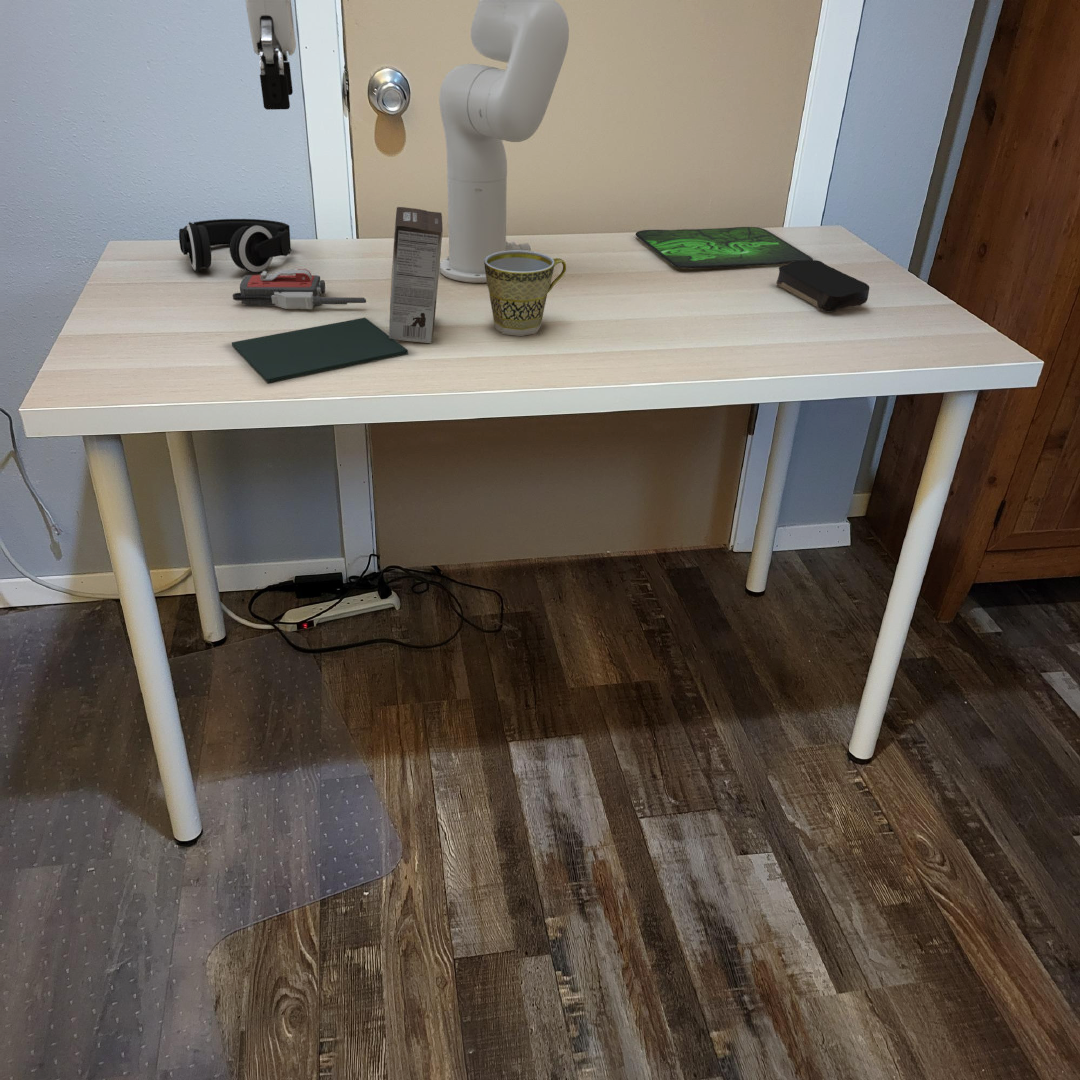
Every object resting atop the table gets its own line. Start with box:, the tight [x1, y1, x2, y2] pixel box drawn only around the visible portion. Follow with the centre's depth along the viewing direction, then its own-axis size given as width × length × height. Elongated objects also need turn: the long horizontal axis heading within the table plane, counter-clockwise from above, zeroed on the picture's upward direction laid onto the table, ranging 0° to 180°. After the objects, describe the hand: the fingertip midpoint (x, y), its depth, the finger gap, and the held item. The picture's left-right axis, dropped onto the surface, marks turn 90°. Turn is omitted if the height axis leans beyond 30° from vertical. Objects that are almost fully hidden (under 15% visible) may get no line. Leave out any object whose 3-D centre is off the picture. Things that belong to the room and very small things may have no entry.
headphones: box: [178, 218, 292, 274], centre depth 164 cm, size 18×8×20 cm
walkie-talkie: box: [232, 268, 367, 310], centre depth 149 cm, size 9×4×20 cm
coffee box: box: [388, 206, 444, 344], centre depth 137 cm, size 9×6×16 cm
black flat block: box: [776, 259, 871, 313], centre depth 159 cm, size 16×8×4 cm, turn 22°
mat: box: [231, 317, 409, 384], centre depth 135 cm, size 20×14×1 cm
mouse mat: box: [635, 226, 814, 269], centre depth 179 cm, size 27×22×1 cm
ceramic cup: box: [484, 250, 567, 337], centre depth 142 cm, size 13×10×10 cm
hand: (279, 101), depth 128 cm, fingers open, 9 cm apart
